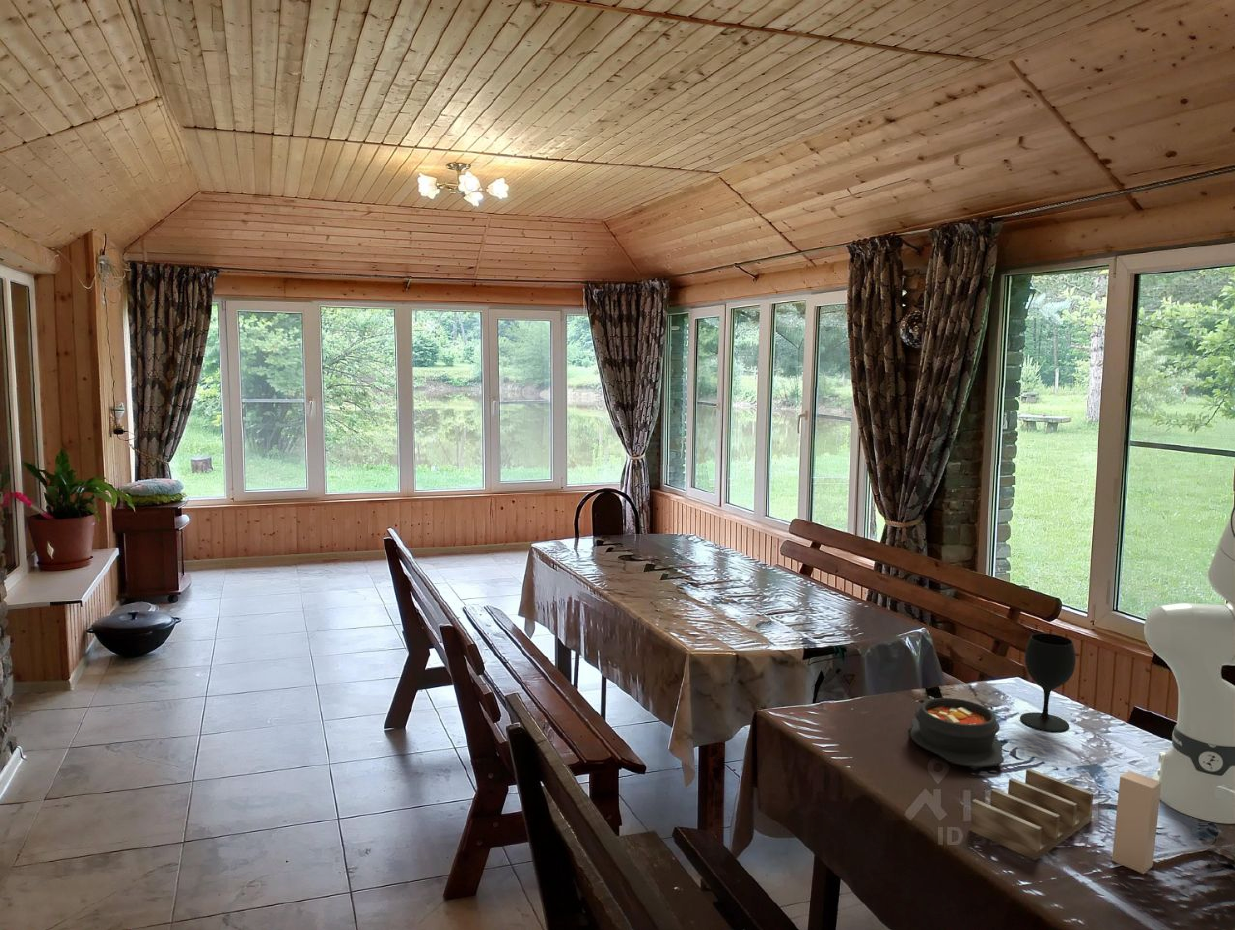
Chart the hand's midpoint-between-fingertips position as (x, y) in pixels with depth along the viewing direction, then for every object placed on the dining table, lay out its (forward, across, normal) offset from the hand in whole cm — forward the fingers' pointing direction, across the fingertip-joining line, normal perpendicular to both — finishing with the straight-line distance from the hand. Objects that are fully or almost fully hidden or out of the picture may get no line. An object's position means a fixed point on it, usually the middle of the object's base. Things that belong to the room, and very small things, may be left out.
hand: (1227, 781), depth 140 cm
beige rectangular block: (+12, 0, +20) cm, 23 cm away
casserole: (+54, -17, +19) cm, 60 cm away
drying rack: (+29, +2, +19) cm, 35 cm away
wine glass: (+49, -45, +19) cm, 69 cm away
